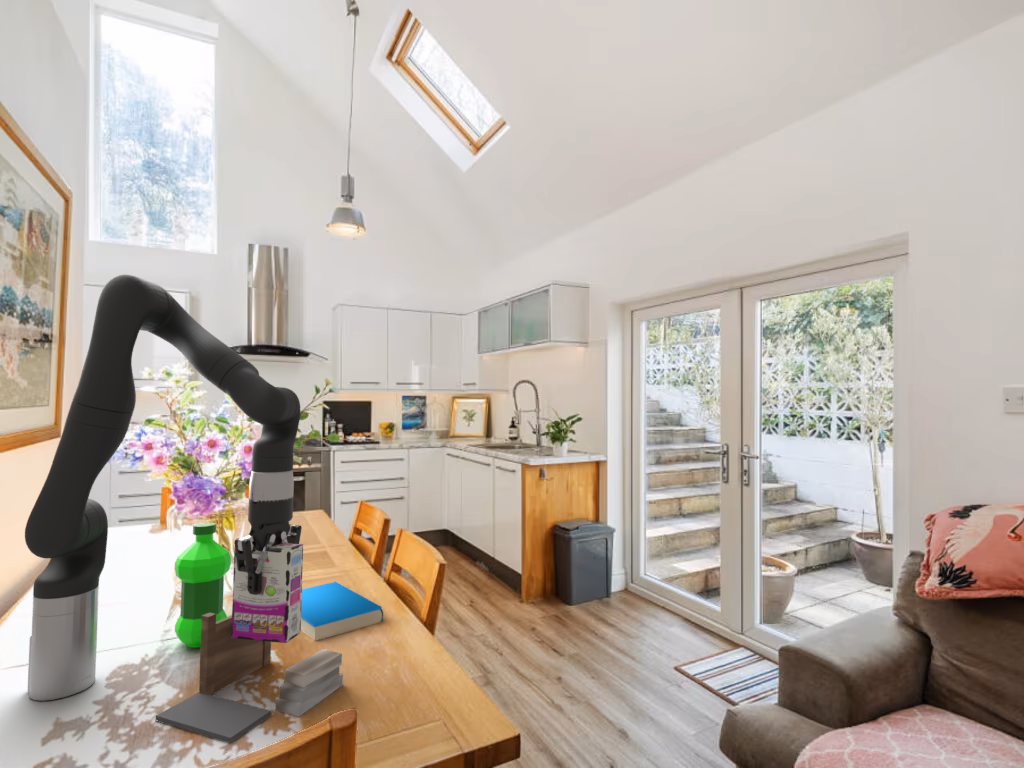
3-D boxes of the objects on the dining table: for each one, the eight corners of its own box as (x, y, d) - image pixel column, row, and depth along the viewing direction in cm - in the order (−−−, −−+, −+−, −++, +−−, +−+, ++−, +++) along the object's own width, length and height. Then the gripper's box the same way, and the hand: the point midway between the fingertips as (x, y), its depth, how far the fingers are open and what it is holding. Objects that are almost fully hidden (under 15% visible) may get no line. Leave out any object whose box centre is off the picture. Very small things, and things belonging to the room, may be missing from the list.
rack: (199, 697, 96) (201, 615, 97) (264, 661, 110) (266, 589, 110) (205, 699, 95) (208, 617, 96) (270, 662, 109) (272, 591, 110)
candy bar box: (302, 633, 102) (305, 543, 102) (286, 644, 97) (289, 550, 98) (247, 627, 104) (250, 539, 104) (229, 638, 99) (232, 546, 99)
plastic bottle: (238, 638, 120) (241, 522, 121) (190, 657, 111) (194, 532, 112) (210, 629, 125) (213, 517, 126) (162, 646, 116) (166, 526, 117)
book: (314, 625, 119) (271, 594, 137) (313, 645, 119) (271, 611, 137) (384, 605, 131) (337, 579, 149) (384, 624, 131) (336, 595, 149)
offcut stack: (275, 710, 92) (276, 673, 92) (320, 679, 102) (321, 647, 103) (300, 716, 90) (301, 679, 91) (343, 685, 101) (344, 651, 101)
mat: (155, 720, 89) (155, 715, 89) (199, 696, 96) (199, 691, 96) (230, 743, 83) (230, 737, 83) (270, 715, 91) (271, 710, 91)
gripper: (284, 488, 109) (281, 575, 109) (223, 499, 96) (219, 598, 95) (315, 491, 107) (311, 580, 106) (256, 503, 93) (252, 604, 93)
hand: (267, 588), depth 101 cm, fingers closed on candy bar box, 5 cm apart
